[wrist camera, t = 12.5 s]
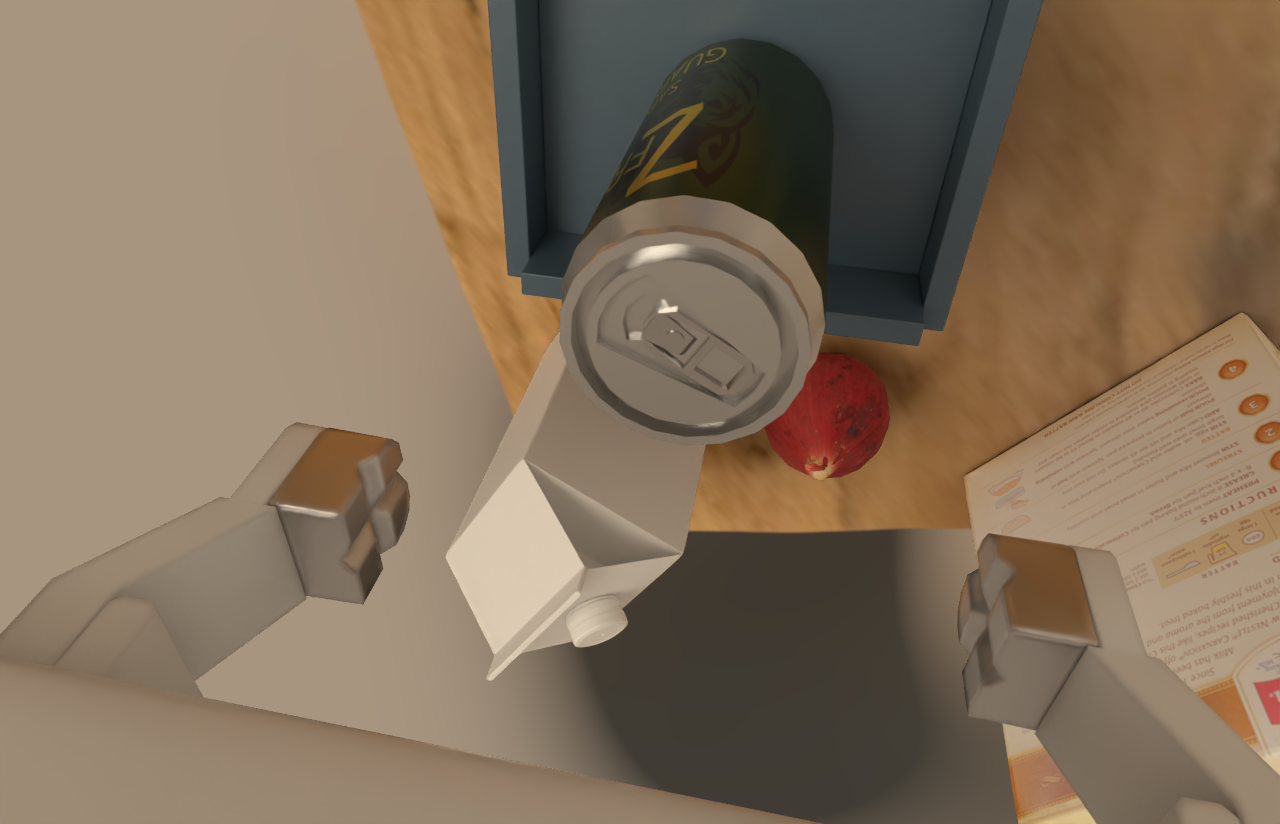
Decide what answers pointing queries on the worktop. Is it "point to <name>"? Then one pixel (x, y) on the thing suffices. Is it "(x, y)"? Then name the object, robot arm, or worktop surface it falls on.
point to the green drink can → (708, 252)
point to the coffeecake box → (1163, 530)
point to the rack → (861, 112)
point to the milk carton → (569, 520)
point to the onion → (832, 419)
